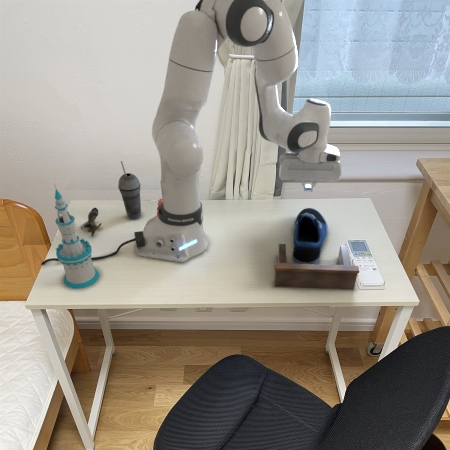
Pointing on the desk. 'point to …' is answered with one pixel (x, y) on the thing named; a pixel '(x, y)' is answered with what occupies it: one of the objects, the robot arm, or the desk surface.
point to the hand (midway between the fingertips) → (307, 191)
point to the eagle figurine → (91, 221)
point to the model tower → (73, 250)
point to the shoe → (309, 236)
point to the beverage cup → (130, 194)
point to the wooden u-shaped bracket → (316, 273)
